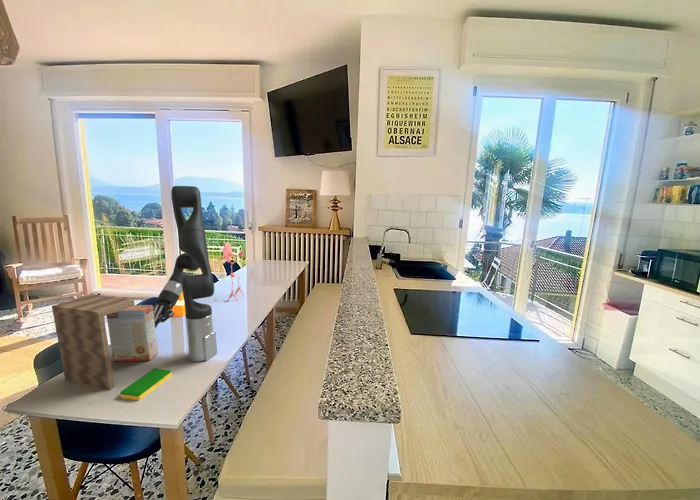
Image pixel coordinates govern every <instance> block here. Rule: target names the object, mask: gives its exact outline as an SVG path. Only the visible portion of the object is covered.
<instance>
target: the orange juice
mask: <svg viewBox="0 0 700 500" xmlns="http://www.w3.org/2000/svg"><path fill="white" fill-rule="evenodd" d="M172 310H173V312H175V314H174V315H173V316H172V317H185V304H184V297H183V292H182V293H181V295H180V297H179V299H178V301H177V303H176V304H175V306H173V309H172Z"/></svg>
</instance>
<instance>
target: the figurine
mask: <svg viewBox="0 0 700 500" xmlns="http://www.w3.org/2000/svg"><path fill="white" fill-rule="evenodd" d="M232 249H233V248H232V242H230V243H228V241H226V242H225V243H224V247H222V248H221V250H222V255H221V256H220V258H219V260H217V262H216V264H218V263H219V262H220V261H221V260H222V259H223V261H224V262H226V261H227V263H228V264H229V263H230V269H231V271H230V274H229V276H230V278H231V289H233V287H234V286H233V284H234V282H233V278H234V277H236V278H238V280H237V283H240V276H239V275H238V276H237V275H236V274H235V272H233V265H234V264H235V263H237V262H240V263H242V261H243V255H244V254H245V250H244V249H243V250H240V251H239V253H238V255H237V256H238V258H240V260H236V258H235V256H234V252H233V250H232ZM231 257H232V258H233V260H234V261H233V262H232V260H231ZM239 291H240V293H241V294H242V296H244V292H243V291H242V290H241V286H240V285H239V286H237V288H236V290H235V291H234V290H231V293H230V294H229V297H228V299H227V302H229V300H230V299H231V298H232V296H234V299H236V301H238V298H237V297H236V295H237V294H238V292H239ZM234 292H235V293H234ZM235 294H236V295H235ZM223 296H224V294H223V295H221V297H223ZM218 298H220V296H219V297H217V299H218Z"/></svg>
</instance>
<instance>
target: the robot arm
mask: <svg viewBox="0 0 700 500" xmlns="http://www.w3.org/2000/svg"><path fill="white" fill-rule="evenodd" d="M170 192H171V193H170V195H171V204H172V209H173V214H174V218H175V219H174V220H175V223H176V229H177V235H178V247H179V250H180V251H181V252H183V253H181V254H179V255H178V256H177V258H176V260H175V264H174V268H173V271H172V274H171V276H170V277H169V279H168V281H167V282H166V284H164V286H163V288H162V289H161V292H160V293H159V294H158V297H157V298H156V300H157V301H156V303H155V304H154V306H152V307H153V315H154V323H155V330H156V328H157V327H158V325H159V324H161V323H164V322H166V321H167V320H169V319H170V318H171V317H174V316H173V315H174V314H175V312H173V310H172V309H173V306H175V304H176V303H177V301H178V299H179V297H180V295H181V293H182V292H183V297H184V304H185V315H184V317H185V323H186V324H185V327H186V336H187V347H188V356H189V357H188V358H189V360H191V361H192V362H204V361H206V362H207V361H209V360H210V359H211V358H213V357H214V356H215V355H217V354H218V346H217V333H216V330H214V324H213V311H212V306H211V305H209V304H206V303H202V302H197V301H195V300H198V299H205V298H210V297H212V296H214V295H215V282H214V278H213V273H212V270H211V269H212V268H211V266H210V260H209V253H208V245H207V237H206V231H205V230H206V229H205V225H204V220H203V208H202V197H201V191H200V188H198V186H191V185H190V186H189V185H173V186H172V188H171V191H170ZM182 208H193V209H192V211H191V214H190V215H189V217H188V218H187V219H186V217H185V215H184V214H183V211H182ZM199 269H200V272H201V273H200V274H192V275H189V274H188V273H187V272H185V271H184V270H189V271H197V270H199Z"/></svg>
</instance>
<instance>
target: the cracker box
mask: <svg viewBox="0 0 700 500" xmlns="http://www.w3.org/2000/svg"><path fill="white" fill-rule="evenodd" d="M153 307H154V306H153V304H139V305H138V304H137V305H133V306H131V307H128V308H125V309H123V310H120V311H117V312H115V313H112V314H109V315H107V316H106V322H107V327H108V335H109V343H110V348H111V354H112V355H111V356H112V361H113V362H137V361H138V362H140V361H141V362H142V361H144V362H146V361H147V362H149V361H151V360H152V359H153V358H155V357H156V356H157V354H158V353H159V351H158V350H159V349H158V341H157V334H156V329H155V323H154V315H153Z"/></svg>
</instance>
